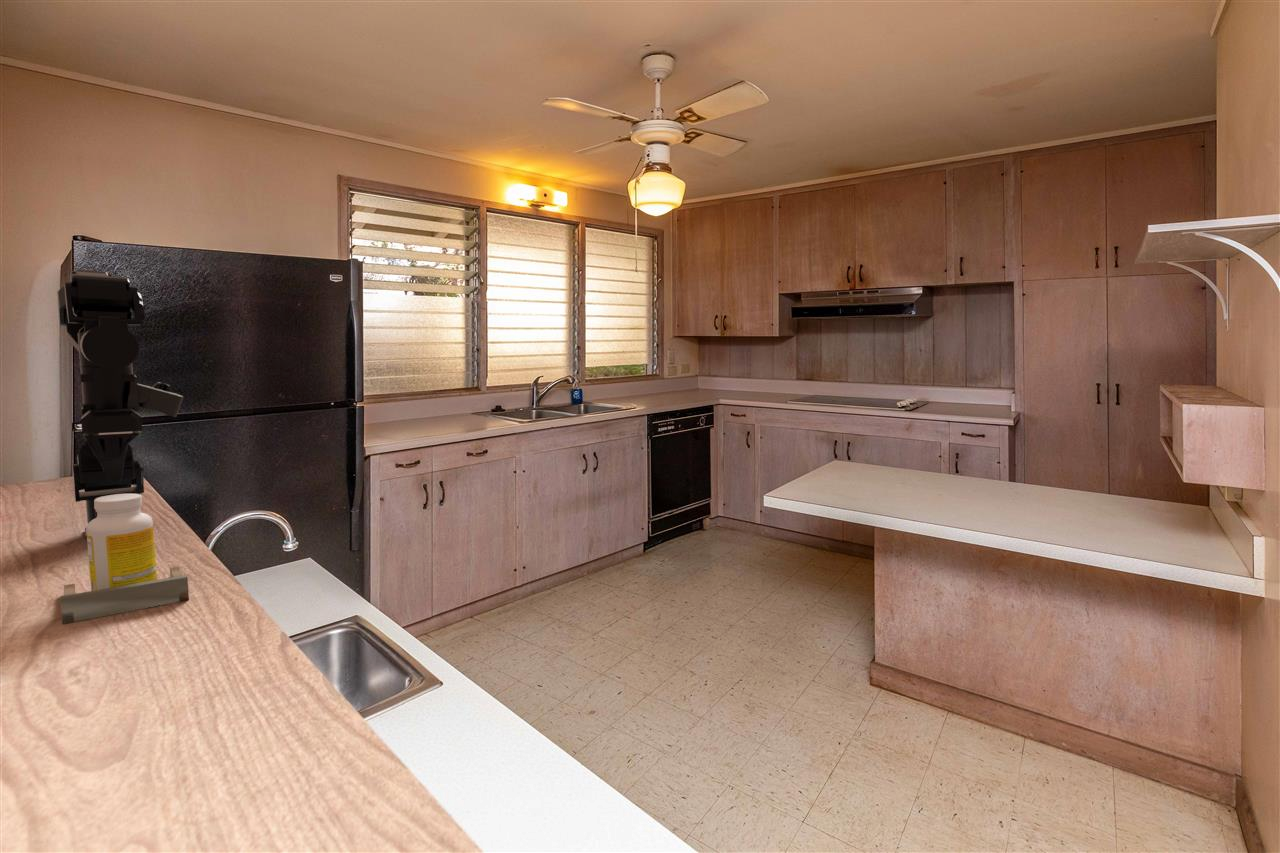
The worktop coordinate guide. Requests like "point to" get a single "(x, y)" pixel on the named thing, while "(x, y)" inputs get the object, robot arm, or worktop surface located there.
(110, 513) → the supplement bottle
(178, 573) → the u-shaped frame
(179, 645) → the worktop surface
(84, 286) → the robot arm
